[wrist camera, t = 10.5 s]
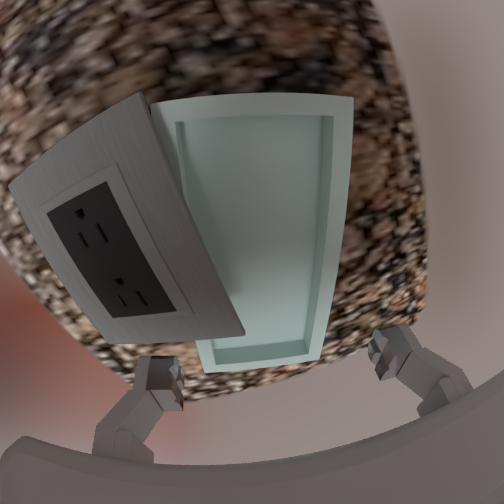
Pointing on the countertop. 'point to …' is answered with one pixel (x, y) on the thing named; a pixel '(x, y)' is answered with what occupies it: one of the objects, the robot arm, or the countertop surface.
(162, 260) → the electrical outlet
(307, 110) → the parts tray
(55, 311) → the countertop surface
